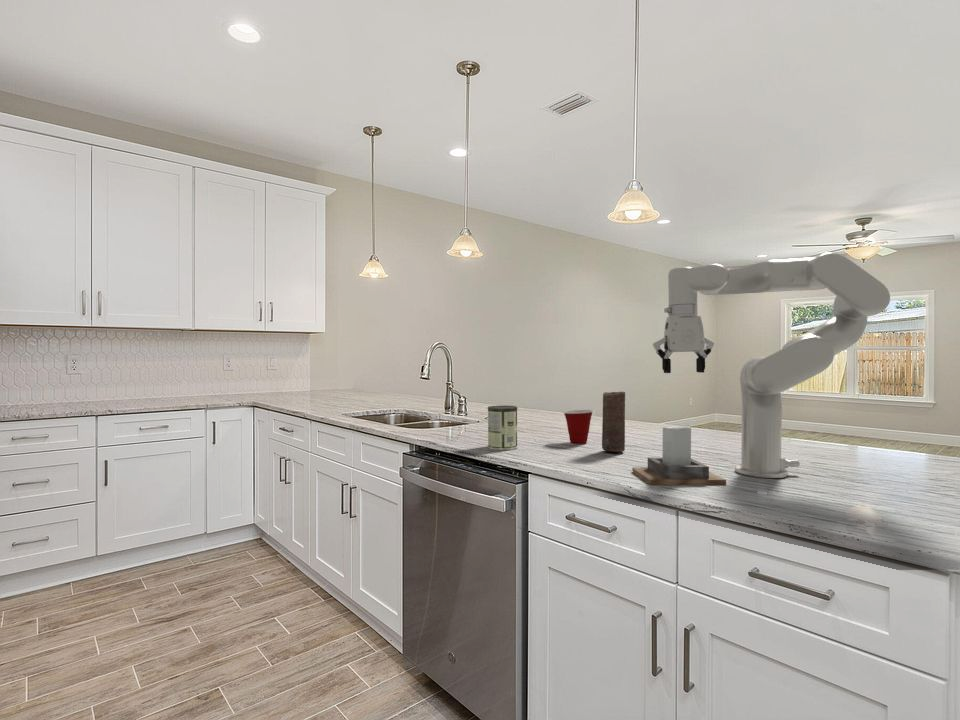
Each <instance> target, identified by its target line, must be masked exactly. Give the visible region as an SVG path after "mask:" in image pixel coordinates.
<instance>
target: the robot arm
mask: <svg viewBox="0 0 960 720" xmlns="http://www.w3.org/2000/svg"><path fill="white" fill-rule="evenodd" d="M667 278H668V279H667V281H668V285H667V287H668V306H667V307H665V308H664V309H663V311H664V313H667V315H668V317H666V319H665V325H664V332H663V337H662V338H660V339H658V340H657V341H655V342H653V343H652V346H653V349H654V350H655V353H656V354H657V355H658V356H659V357H660V359H661V361H662V362H661V363H662V364H661V365H662V366H661V367H662V368H661V369H662V371H663V373H664V374H671V373H672V364H671V363H672V360H671V358H670V357H671V356H672V354H673V353H684V352H685V353H690V352H691V353H692V352H693V353H694V354H695V355H696V356H697V358H696V359H695V361H696V362H695V363H696V364H695V366H696V367H695V368H696V370H695V371H696V373H701V374H702V373H705V370H706V359H707V357H708V356H709V355H710V353H711V352H712V350H713V347H714V345H715V342H714V341H711V340H709V339H707V338H706V337H705V331H704V325H703V324H704V323H703V321H702V316H700V315H698V292H699V293H700V294H702V295H706V296H723V295H725V296H726V295H728V296H729V295H739V294H740V295H742V294H761V293H762V294H763V293H774V292H775V293H777V292H778V293H779V292H792V291H793V292H794V291H799V292H802V291H818V290H824V289H827V290H829V292H831V293H832V294H833V295H835V298H834V301H833V309H832V314H831V315H830V318H828V320H826V321H824V322H822V323H821V324H819V325H818V326H816V327H814V328H812V329H811V330H808V331H807V332H805V333H803V334H800V335H798V336H796V337H794V338H792V339H790V340H788V341H787V342H786V343H785V344H784V345H783V346H782V348H781V349H779V350H778V351H776V352H774V353H771V354H770V355H767V356H756V357H754V358H751V359H749V360H747V362H745V363H744V364H743V366H742V368H741V370H740V377H739V380H740V391H741V393H740V394H741V445H740V447H741V449H740V451H741V458H740V459H741V461H740V463H741V464H737V465H736V466H735V467H734V471H735V472H736V473H738V474H741V475H743V476H749V477H754V478H763V479H764V478H765V479H780V478H781V479H782V478H786V477H788V475H789V474H788V473H789V472H788V470H787V469H789V468H800V461H799V460H798V459H787V458H785V457H782V417H783V407H782V404H783V403H782V394H781V393H783V392H786V391H788V390H789V389H792V388H794V387H796V386H797V385H799V384H801V383H804V382H805V381H807V380H809V379H811V378H814V377H815V376H817V375H819V374H821V373H823V372H824V371H826V370H827V369H828V368H829V367H830V366H831V364H832V363H833V362H834V360H835V359H834V358H835V356H836V355H838V354H839V353H841V352H842V351H843V352H844V351H845V350H847V349H848V348H850V347H852V346H853V345H855V344H856V343H857V342H858V341H859V340H860V338H862V336H863V334H864V332H865V329H866V327H867V323H868V317H871V316H872V317H873V316H876V315H878V314H880V313H882V312H883V311H885V310H886V309H887V308H888V306H889V304H890V301H891V295H890V294H891V293H890V291H889V289H888V288H887V287H886V285H885V284H883V283H882V281H880V280H879V279H877V277H875V276H873V275H871V274H870V273H869V272H867V271H866V270H864V269H863V268H862V267H860V266H859V265H858V264H856V263H855V262H854V261H852V260H850V259H849V258H847V257H846V256H845V255H842V254H840V253H837V252H824V253H821V254H820V255H817V256H816V257H802V258H787V259H785V258H784V259H769V260H764V261H760V262H757V263H754V264H751V265H747V266H746V265H745V266H741V267H735V268H733V267H732V268H726V267H725V266H724V265H721V264H718V263H709V264H705V265H700V266H693V267H691V266H680V267H674V268H672V269H669V271H668V277H667ZM662 345H663V349H664V350H663V349H662V348H661V346H662Z"/></svg>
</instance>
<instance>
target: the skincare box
mask: <svg viewBox="0 0 960 720" xmlns="http://www.w3.org/2000/svg"><path fill="white" fill-rule="evenodd" d="M661 458H662V463H663V464H665V465H667V466H671V465H691V458H692V428H691V427H689V426H688V427H687V426H682V425H680V426H679V425H675V426H665V427H662V457H661Z"/></svg>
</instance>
